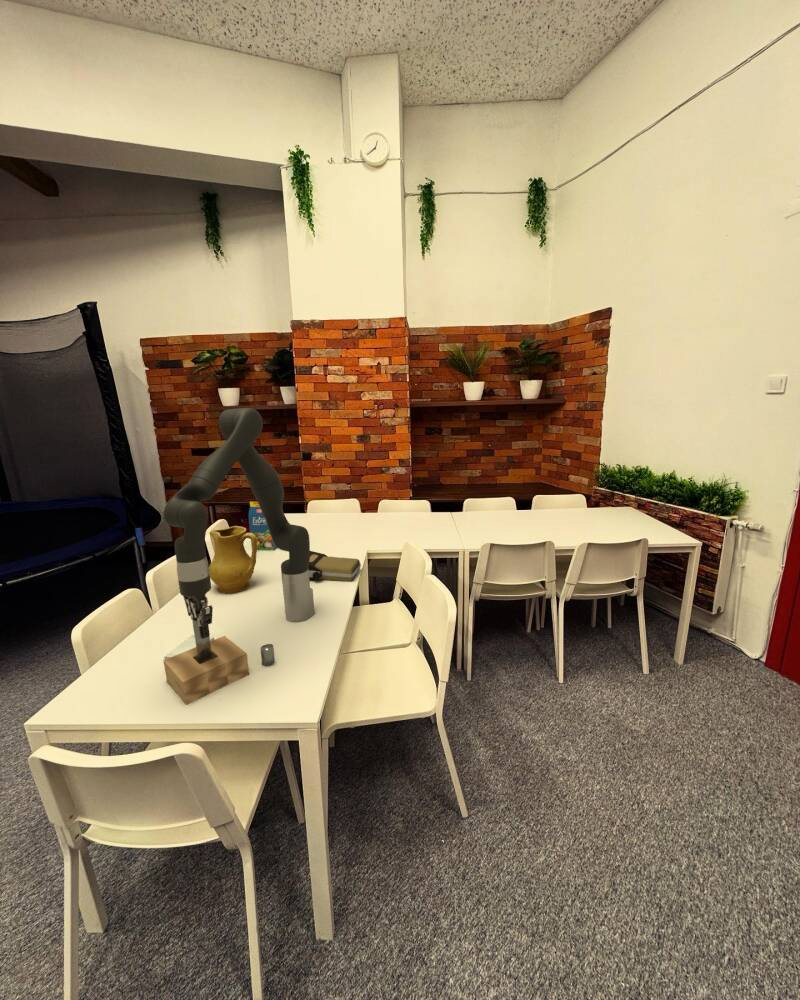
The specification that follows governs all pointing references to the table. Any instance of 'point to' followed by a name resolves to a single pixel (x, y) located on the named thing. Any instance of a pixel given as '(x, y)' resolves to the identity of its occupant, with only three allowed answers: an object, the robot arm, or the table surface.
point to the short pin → (267, 655)
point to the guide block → (206, 670)
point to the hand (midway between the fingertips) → (202, 634)
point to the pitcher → (232, 559)
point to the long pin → (201, 643)
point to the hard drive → (184, 647)
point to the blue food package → (260, 528)
